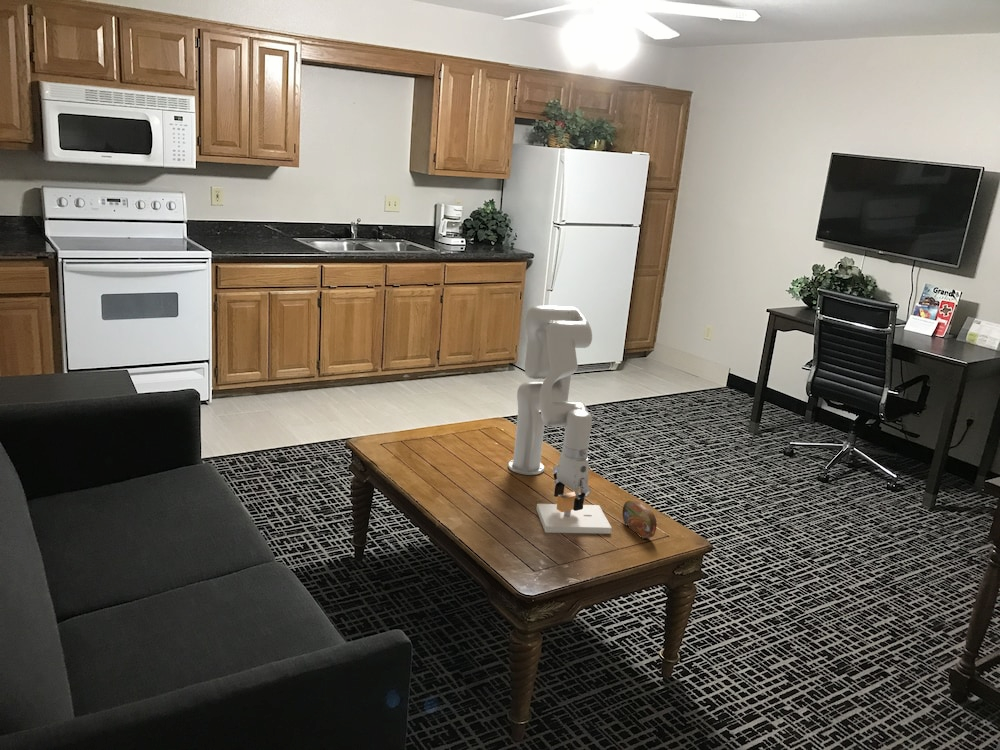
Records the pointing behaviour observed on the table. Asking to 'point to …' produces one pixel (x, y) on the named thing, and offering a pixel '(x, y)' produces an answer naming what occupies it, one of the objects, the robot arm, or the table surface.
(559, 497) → the orange block on post
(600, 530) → the base plate
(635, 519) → the tin
